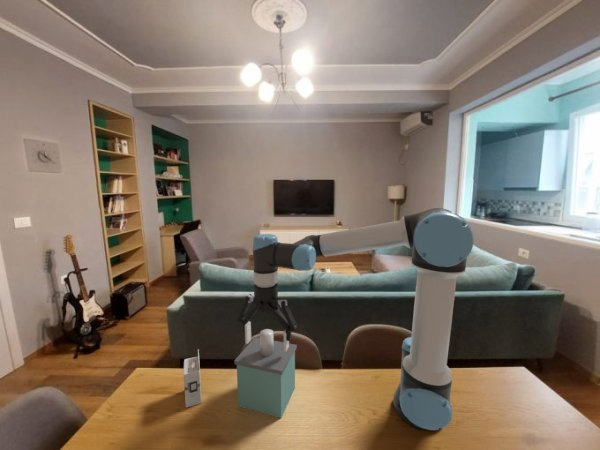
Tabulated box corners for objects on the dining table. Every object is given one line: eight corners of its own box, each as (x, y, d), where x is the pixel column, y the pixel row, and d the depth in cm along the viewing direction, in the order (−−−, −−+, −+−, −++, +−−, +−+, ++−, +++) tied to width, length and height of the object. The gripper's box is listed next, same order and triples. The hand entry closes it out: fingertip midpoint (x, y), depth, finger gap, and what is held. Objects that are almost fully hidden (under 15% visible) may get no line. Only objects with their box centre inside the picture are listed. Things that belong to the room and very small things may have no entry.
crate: (294, 387, 94) (294, 348, 92) (281, 418, 82) (281, 373, 80) (256, 378, 99) (255, 341, 97) (238, 406, 87) (236, 363, 84)
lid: (296, 352, 93) (296, 325, 91) (282, 379, 80) (281, 349, 78) (254, 343, 98) (254, 318, 96) (234, 368, 84) (233, 340, 83)
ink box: (185, 389, 94) (183, 350, 91) (200, 385, 95) (198, 347, 93) (185, 408, 86) (182, 366, 84) (201, 403, 87) (199, 362, 85)
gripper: (306, 283, 85) (306, 345, 88) (237, 275, 92) (239, 333, 95) (299, 292, 78) (299, 359, 81) (224, 283, 85) (227, 344, 88)
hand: (266, 345), depth 88 cm, fingers open, 13 cm apart
